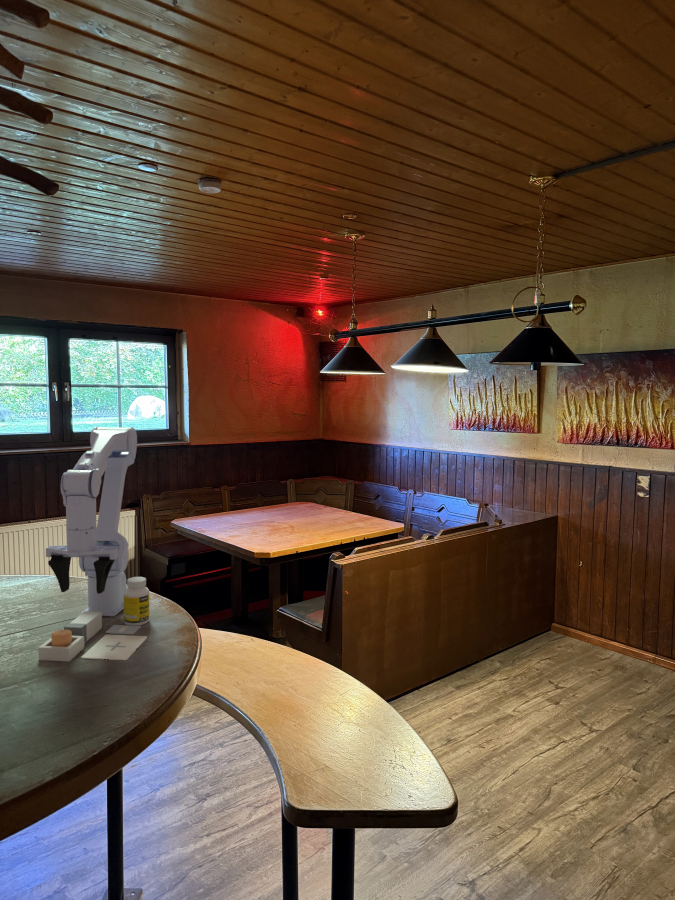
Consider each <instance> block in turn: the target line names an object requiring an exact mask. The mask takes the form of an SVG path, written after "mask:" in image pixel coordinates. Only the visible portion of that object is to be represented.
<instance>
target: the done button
mask: <svg viewBox="0 0 675 900" xmlns="http://www.w3.org/2000/svg"><path fill="white" fill-rule="evenodd" d="M50 635H51V637H50V638H51V640H52V646H58V647H68V646H69V645H70V644H71V643H72V631H70V630H64V629H59V630H56V631H53V632H52V633H51V634H50Z"/></svg>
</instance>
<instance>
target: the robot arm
mask: <svg viewBox="0 0 675 900" xmlns="http://www.w3.org/2000/svg"><path fill="white" fill-rule="evenodd" d="M89 437H90V438H89V444H90V447H91V449H90V450H87V451H85V452H84V453H83V454H82V455H81V456H80V458H79V459H78V460H77V463H75V465H74V467H73V468H72V469H67V471H65V472H63V474H62V476H61V480H60V494H61V495H62V500H63V501H62V503H63V506H64V507H65V513H66V514H65V515H66V517H65V518H66V519H65V520H66V521H65V522H66V526H65V527H66V545H50V546H48V547H46V548H45V557H46V558H50V559H49V560H48V561H47V563H48V566H49V567H50V569H51V571H52V572H53V573H54V575H55V577H56V579H57V583H58V585H59V588H60V592H61V593H66V592H67V591H68V590H70V569H71V560H72V558H78V566H79V569H80V570H81V571H82V572H83V573H84V576H85V577H86V576H87V595H88V596H87V602H88V603H87V605H88V607H86V608H85V609H84V610H82V611H81V612H80V615H81V614H82V613H84V612H85V611H93V612H102V617H115V616H116V615H118V614H119V613H120V612H121V611H122V610H124V591H125V590H126V589H127V575H126V574H125V570H126V569H127V566H128V563H129V542H128V540H127V538H126V537H125V536H124V535H123V534H121V533H120V532H119V524H120V516H121V511H122V509H121V508H122V502H123V496H124V488H125V481H126V480H125V479H126V475H127V470H128V467H129V466H132V465H133V464H134V463H135V459H136V455H137V447H138V433H137V430H136V429H135V428H134V426H129V427H124V426H123V427H121V426H120V427H116V426H115V427H113V426H105V427H104V426H97V425H96V426H94V427H93V428H92V429H91V431H90V436H89ZM103 475H104V478H103V483H102V477H103ZM102 484H103V485H102ZM101 485H102V490H101V491H102V492H101V498H100V504H99V508H98V509H99V510H98V517H97V497H98V495H99V494H100V488H101Z"/></svg>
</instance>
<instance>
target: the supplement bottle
mask: <svg viewBox="0 0 675 900" xmlns="http://www.w3.org/2000/svg"><path fill="white" fill-rule="evenodd" d="M149 621H150V589H149V588H148V587H147V578H146V577H143V576H133V577H129V578H128V579H126V590H125V591H124V608H123V623H124V625H128V626H143V625H145V624H147V623H148V622H149Z"/></svg>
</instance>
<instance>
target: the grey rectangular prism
mask: <svg viewBox="0 0 675 900" xmlns="http://www.w3.org/2000/svg"><path fill="white" fill-rule="evenodd" d="M102 617H103V616H102V612H93V611H85V612H84V613H82V614H81V613H80V614H79V616H77V617H76V618H74V619H73V620H72V621H70V622H69V623H67V624H66V625H65V626H63V630H70V631H72V636H84V644H85V643H87V641H89V640H90V639H91V638H92V637H93V636H94V635H96V634H97V633H98V632H99V631H100V630H102V628H103V625H102V623H103V622H102V621H103V619H102ZM97 631H98V632H97ZM90 637H91V638H90ZM89 638H90V639H89Z"/></svg>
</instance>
